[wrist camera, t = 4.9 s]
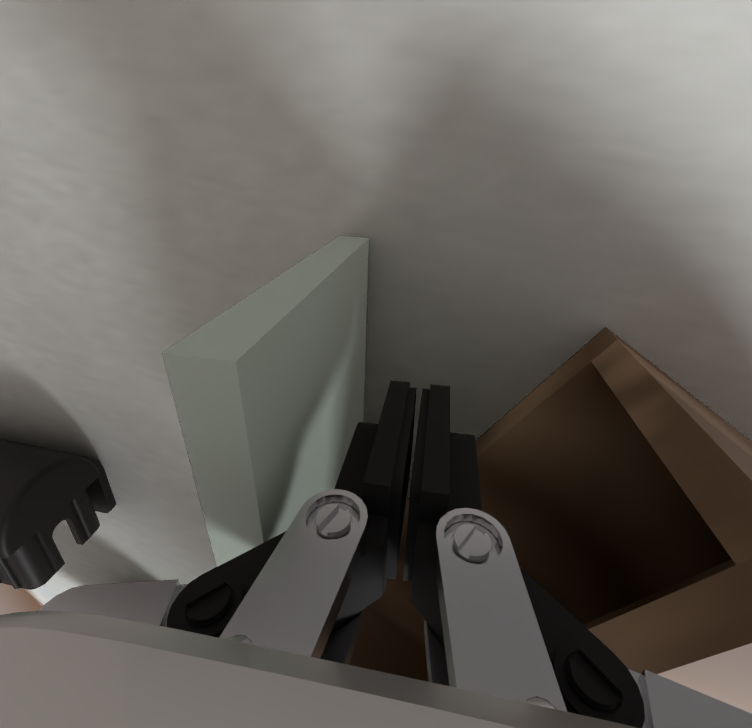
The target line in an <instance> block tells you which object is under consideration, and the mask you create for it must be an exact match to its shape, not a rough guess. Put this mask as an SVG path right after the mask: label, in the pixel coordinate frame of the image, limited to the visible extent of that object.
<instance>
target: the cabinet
mask: <svg viewBox="0 0 752 728" xmlns="http://www.w3.org/2000/svg"><path fill="white" fill-rule="evenodd" d="M476 452H477V463H478V474H479V485H480V496H481V506H482V512H485V513H487V514H489V515H490V516H492V517H493V518H495V519H496V520H497V521H498V522H499V523H500V524H501V525H502V526H503V527H504V528H505V530H506V532H507V534H508V536H509V538H510V540H511V544H512V547H513V550H514V553H515V556H516V559H517V562H518V565H519V567H521V568H522V569H523V570H524V571H525V572H526V573H527V574H528V575H529V576H530V577H531V578H533V579H534V580H535V581H536V582H537V583H538V584H539V585H540V586H541V587H542V588H543V589H545V590H546V591H547V592H548V593H549V594H550V595H551V596H552V597H553V598H554V599H555V600H557V601H558V602H559V603H560V604H561V605H562V606H563V607H564V608H565V609H566V610H567V611H569V612H570V613H571V614H572V615H573V616H574V617H575V618H576V619H577V620H578V621H580V622H581V623H582V624H583V625H584V626H585V627H586V628H587V629H588V630H589V631H590V632H592V633H593V634H594V635H595V636H596V637H597V638H598V639H599V640H600V641H601V642H602V643H604V644H605V645H606V646H607V647H608V648H609V649H610V650H611V651H612V652H613V653H614V654H615V655H616V656H617V657H618V658H619V659H620V660H621V661H622V662H623V664H624V665H625V666H626V667H627V668H628V669H630V670H632V671H635V672H637V673H639V674H641V673H642V672H643V670H644V669H645V670H648V671H650V672H652V673H655V674H657V675H660V676H662V677H664V678H667V679H669V680H672V681H674V682H676V683H679V684H681V685H684V686H686V687H689V688H691V689H693V690H696V691H698V692H701V693H703V694H705V695H708V696H710V697H713V698H715V699H717V700H720V701H722V702H725V703H727V704H729V705H732V706H734V707H737V708H739V709H742V710H744V711H746V712H749V713H751V714H752V442H751V441H750V440H748V439H747V438H746V437H745V436H743V435H742V434H741V433H740V432H738V431H737V430H736V429H734V428H733V427H732V426H731V425H729V424H728V423H727V422H726V421H724V420H723V419H722V418H721V417H719V416H718V415H717V414H715V413H714V412H713V411H712V410H710V409H709V408H708V407H707V406H705V405H704V404H703V403H701V402H700V401H699V400H698V399H696V398H695V397H694V396H693V395H691V394H690V393H689V392H687V391H686V390H685V389H684V388H682V387H681V386H680V385H679V384H677V383H676V382H675V381H674V380H672V379H671V378H670V377H668V376H667V375H666V374H665V373H663V372H662V371H661V370H660V369H658V368H657V367H656V366H654V365H653V364H652V363H651V362H649V361H648V360H647V359H646V358H644V357H643V356H642V355H640V354H639V353H638V352H637V351H635V350H634V349H633V348H632V347H630V346H629V345H628V344H627V343H625V342H624V341H623V340H621V339H620V338H619V337H618V336H616V335H615V334H614V333H613V332H611V331H610V330H609V329H607V328H605V329H604V330H602V331H601V332H600V333H599V334H598V335H597V336H595V337H594V338H593V339H592V340H591V341H590V342H589V343H587V344H586V345H585V346H584V347H583V348H582V349H581V350H579V351H578V352H577V353H576V354H575V355H574V356H573V357H571V358H570V359H569V360H568V361H567V362H566V363H564V364H563V365H562V366H561V367H560V368H559V369H558V370H556V371H555V372H554V373H553V374H552V375H551V376H550V377H548V378H547V379H546V380H545V381H544V382H543V383H542V384H540V385H539V386H538V387H537V388H536V389H535V390H533V391H532V392H531V393H530V394H529V395H528V396H527V397H525V398H524V399H523V400H522V401H521V402H520V403H519V404H517V405H516V406H515V407H514V408H513V409H512V410H510V411H509V412H508V413H507V414H506V415H505V416H504V417H502V418H501V419H500V420H499V421H498V422H497V423H496V424H494V425H493V426H492V427H491V428H490V429H489V430H488V431H486V432H485V433H484V434H483V435H482V436H481V437H479V438H478V439H477V440H476ZM409 499H410V498H409ZM409 499H408V500H407V501H406V506H405V514H404V521H403V529H402V537H401V545H400V552H399V560H398V568H397V575H396V579H391V578H387V584H386V591H385V593H384V592H383V594H382V597H380V598H379V599H377V600H376V601H374V602H373V603H372V604H370V605H369V606H367V610H366V616H365V619H364V622H363V625H362V628H361V631H360V634H359V637H358V640H357V643H356V646H355V649H354V652H353V655H352V658H351V661H350V664H349V665H352V666H356V667H361V668H366V669H371V670H375V671H380V672H385V673H389V674H394V675H399V676H403V677H408V678H413V679H418V680H422V681H427V682H428V672H427V661H426V649H425V637H424V618H423V617H422V616H421V614H420V613H419V612H418V610H417V609H416V608H415V606H414V605H413V604H412V602H411V587H412V582H408V581H403V572H404V560H405V548H406V535H407V523H408V511H409Z"/></svg>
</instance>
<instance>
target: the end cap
mask: <svg viewBox="0 0 752 728" xmlns="http://www.w3.org/2000/svg"><path fill="white" fill-rule="evenodd" d="M115 505H116V502H115V499H114V496H113V493H112V490H111V487H110V485H109V482H108V479H107V476H106V473H105V470H104V468H103V466H102V465H101V463H100V462H99V461H98V460H95V459H92V458H88V457H84V456H79V455H74V454H69V453H64V452H59V451H54V450H49V449H44V448H39V447H34V446H29V445H24V444H19V443H15V442H10V441H5V440H0V583H4V584H8V585H12V586H13V587H14V588H15V589H18V588H24V589H30V590H31V589H36V588H38V587H40V586H42V585H44V584H45V583H46V582H47V581H48V580H49V579H50V578H51V577H52V576H53V575H54V574H55V573H56V572H57V571H58V570H59V569H60V568H61V567H62V566H63V565H64V564H65V563H64V561H63V559H62V557H61V555H60V553H59V551H58V549H57V547H56V545H55V543H54V541H53V539H52V534H53V531H54V529H55V527H56V526H57V525H58V524H59V523H60V522H61V521H62V520H66V521H67V523H68V525H69V527H70V529H71V532H72V534H73V536H74V538H75V540H76V543H77V544H81V545H83V544H84V543H85V542H86V541H87V540H88V539H89V538H90V537H91V536H92V535H93V534H94V532H95V531H96V530H97V529H98V528H99V526H100V523H99V520H98V518H97V515H96V513H95V511H98V512H103V513H108V512H110V511H111V510H112V509H113V508H114V507H115Z"/></svg>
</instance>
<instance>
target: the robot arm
mask: <svg viewBox="0 0 752 728" xmlns="http://www.w3.org/2000/svg"><path fill="white" fill-rule="evenodd" d="M416 391H417V388H411V387H410V382H402V381H392V380H391V381H390V385H389V388H388V392H387V396H386V399H385V403H384V407H383V410H382V414H381V418H380V421H379V424H373V423H364V422H359V423H358V424H357V426H356V429H355V432H354V435H353V437H352V440H351V443H350V446H349V449H348V451H347V454H346V457H345V460H344V463H343V466H342V468H341V471H340V474H339V477H338V480H337V482H336V485H335V488H334V489H332V490H325V491H322V492H319V493H317V494H315V495H314V496H312V497H311V498H309V499H308V500H307V501H306V502H305V503H304V505H303V506H302V507H301V509H300V510H299V512H298V513H297V515H296V517H295V518H294V520H293V521H292V523H291V524H290V526H289V528H288V529H287V531H285V532H283V533H281V534H279V535H278V536H276V537H274V538H272V539H270V540H268V541H266V542H264V543H262V544H260V545H258V546H256V547H254V548H253V549H251V550H249V551H247V552H245V553H243V554H241V555H239V556H237V557H235V558H233V559H231V560H229V561H227V562H226V563H224V564H222V565H220V566H218V567H216V568H214V569H212V570H210V571H208V572H206V573H204V574H202V575H201V576H199V577H198V578H196V579H195V580H193V581H192V582H190V583H189V584H184V585H180V583H179V581H178V580H163V581H146V582H129V583H112V584H95V585H83V586H79V587H74V588H71V589H69V590H67V591H65V592H63V593H61V594H59V595H57V596H55V597H54V598H53V599H51V600H50V601H49V602H47V603H46V604H45V605H43V606H42V607H41V608H40V610H39V611H30V612H17V613H11V614H4V615H0V728H752V714H751V713H749V712H746V711H744V710H742V709H739V708H737V707H734V706H732V705H729V704H727V703H725V702H722V701H720V700H717V699H715V698H713V697H710V696H708V695H705V694H703V693H701V692H698V691H696V690H693V689H691V688H689V687H686V686H684V685H681V684H679V683H676V682H674V681H672V680H669V679H667V678H664V677H662V676H660V675H657V674H655V673H652V672H650V671H648V670H645V669H644V670H643V672H642V673H641V674H639V673H637V672H635V671H632V670H630V669H628V668H627V667H626V666H625V665H624V664H623V662H622V661H621V660H620V659H619V658H618V657H617V656H616V655H615V654H614V653H613V652H612V651H611V650H610V649H609V648H608V647H607V646H606V645H605V644H604V643H602V642H601V641H600V640H599V639H598V638H597V637H596V636H595V635H594V634H593V633H592V632H590V631H589V630H588V629H587V628H586V627H585V626H584V625H583V624H582V623H581V622H580V621H578V620H577V619H576V618H575V617H574V616H573V615H572V614H571V613H570V612H569V611H567V610H566V609H565V608H564V607H563V606H562V605H561V604H560V603H559V602H558V601H557V600H555V599H554V598H553V597H552V596H551V595H550V594H549V593H548V592H547V591H546V590H545V589H543V588H542V587H541V586H540V585H539V584H538V583H537V582H536V581H535V580H534V579H533V578H531V577H530V576H529V575H528V574H527V573H526V572H525V571H524V570H523V569H522V568H521V567H519V565H518V562H517V559H516V556H515V553H514V550H513V547H512V544H511V540H510V538H509V536H508V534H507V532H506V530H505V528H504V527H503V526H502V525H501V524H500V523H499V522H498V521H497V520H496V519H495V518H493V517H492V516H490V515H489V514H487V513H485V512H482V506H481V496H480V485H479V474H478V463H477V452H476V441H475V436H474V435H466V434H457V433H450V386H441V385H432V384H430V389H422V396H421V404H420V413H419V421H418V429H417V437H416V446H415V454H414V462H413V470H412V479H411V488H410V499H409V511H408V523H407V535H406V548H405V560H404V572H403V581H408V582H412V587H411V602H412V604H413V605H414V606H415V608H416V609H417V610H418V612H419V613H420V614H421V616H422V617H423V618H424V637H425V649H426V661H427V672H428V682H427V681H422V680H418V679H413V678H408V677H403V676H399V675H394V674H389V673H385V672H380V671H375V670H371V669H366V668H361V667H356V666H352V665H349V664H350V661H351V658H352V655H353V652H354V649H355V646H356V643H357V640H358V637H359V634H360V631H361V628H362V625H363V622H364V619H365V616H366V610H367V606H369V605H370V604H372V603H373V602H374V601H376V600H377V599H379V598H380V597H382V594H383V592H384V593H385V591H386V584H387V578H391V579H396V575H397V568H398V560H399V552H400V545H401V537H402V529H403V521H404V514H405V506H406V498H407V490H408V483H409V475H410V466H411V455H412V442H413V429H414V417H415V404H416Z"/></svg>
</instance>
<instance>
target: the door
mask: <svg viewBox="0 0 752 728" xmlns="http://www.w3.org/2000/svg"><path fill="white" fill-rule="evenodd" d="M368 253H369V238H362V237H349V236H338V237H337V238H335V239H334V240H332V241H331V242H329V243H327V244H326V245H324V246H323V247H321V248H320V249H318V250H317V251H315V252H314V253H312V254H311V255H309V256H308V257H306V258H305V259H303V260H302V261H300V262H299V263H297V264H296V265H294V266H293V267H291V268H290V269H288V270H286V271H285V272H283V273H282V274H280V275H279V276H277V277H276V278H274V279H273V280H271V281H270V282H268V283H267V284H265V285H264V286H262V287H261V288H259V289H258V290H256V291H255V292H253V293H252V294H250V295H249V296H247V297H245V298H244V299H242V300H241V301H239V302H238V303H236V304H235V305H233V306H232V307H230V308H229V309H227V310H226V311H224V312H223V313H221V314H220V315H218V316H217V317H215V318H214V319H212V320H211V321H209V322H208V323H206V324H204V325H203V326H201V327H200V328H198V329H197V330H195V331H194V332H192V333H191V334H189V335H188V336H186V337H185V338H183V339H182V340H180V341H179V342H177V343H176V344H174V345H173V346H171V347H170V348H168V349H167V350H165V351H164V352H162V355H163V359H164V363H165V367H166V371H167V375H168V379H169V383H170V386H171V390H172V394H173V398H174V402H175V406H176V410H177V414H178V418H179V422H180V425H181V429H182V433H183V437H184V441H185V445H186V449H187V453H188V457H189V461H190V465H191V468H192V472H193V476H194V480H195V484H196V488H197V492H198V496H199V500H200V504H201V507H202V511H203V515H204V519H205V523H206V527H207V531H208V535H209V539H210V543H211V546H212V550H213V554H214V558H215V562H216V566H217V567H218V566H220V565H222V564H224V563H226V562H227V561H229V560H231V559H233V558H235V557H237V556H239V555H241V554H243V553H245V552H247V551H249V550H251V549H253V548H254V547H256V546H258V545H260V544H262V543H264V542H266V541H268V540H270V539H272V538H274V537H276V536H278V535H279V534H281V533H283V532H285V531H287V529H288V528H289V526H290V524H291V523H292V521H293V520H294V518H295V517H296V515H297V513H298V512H299V510H300V509H301V507H302V506H303V505H304V503H305V502H306V501H307V500H308V499H309V498H311V497H312V496H314V495H315V494H317V493H319V492H322V491H325V490H332V489H334V488H335V485H336V482H337V480H338V477H339V474H340V471H341V468H342V466H343V463H344V460H345V457H346V454H347V451H348V449H349V446H350V443H351V440H352V437H353V435H354V432H355V429H356V426H357V424H358V423H359V422H363V419H364V386H365V352H366V319H367V286H368Z"/></svg>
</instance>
